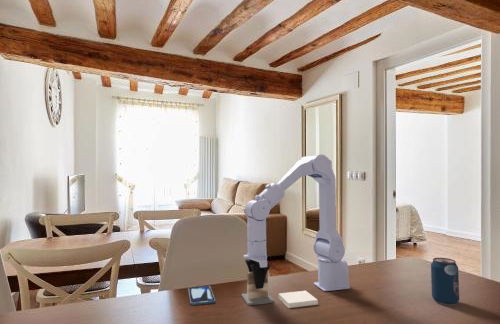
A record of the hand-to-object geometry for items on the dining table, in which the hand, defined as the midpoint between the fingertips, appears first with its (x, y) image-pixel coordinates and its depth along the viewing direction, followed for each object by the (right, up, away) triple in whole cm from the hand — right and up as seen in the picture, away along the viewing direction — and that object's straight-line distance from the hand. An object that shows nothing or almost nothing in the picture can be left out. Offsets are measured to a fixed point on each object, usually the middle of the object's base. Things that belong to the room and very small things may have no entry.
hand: (257, 285), depth 101 cm
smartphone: (-17, -5, +4) cm, 18 cm away
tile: (+11, -4, +2) cm, 11 cm away
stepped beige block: (0, -3, 0) cm, 3 cm away
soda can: (+55, -4, -4) cm, 55 cm away
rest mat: (0, -4, 0) cm, 4 cm away
